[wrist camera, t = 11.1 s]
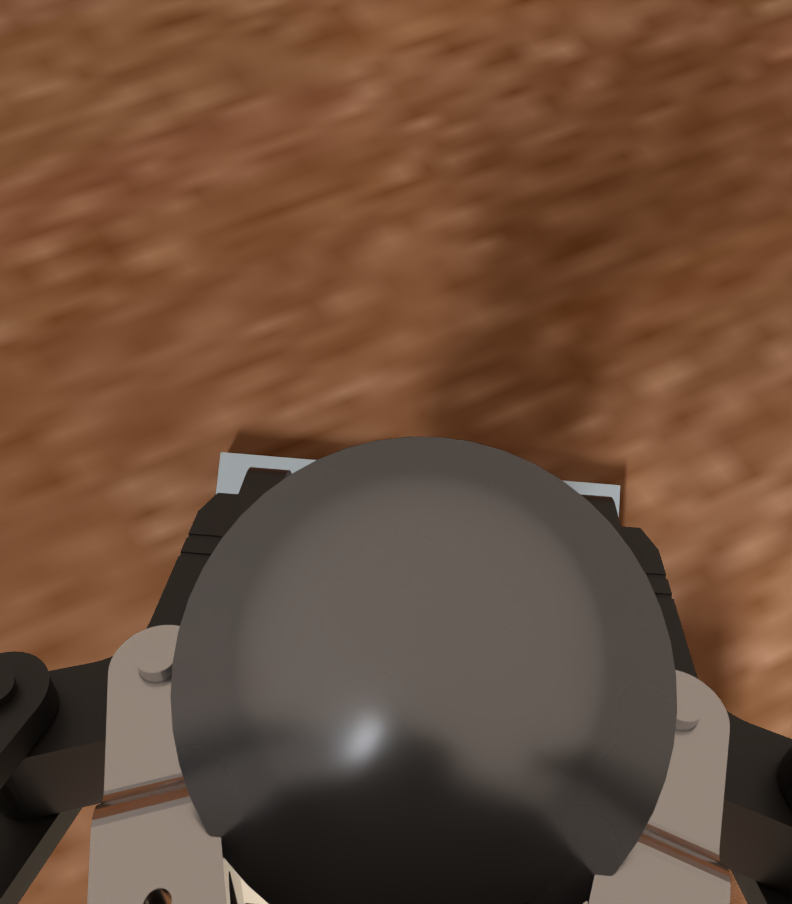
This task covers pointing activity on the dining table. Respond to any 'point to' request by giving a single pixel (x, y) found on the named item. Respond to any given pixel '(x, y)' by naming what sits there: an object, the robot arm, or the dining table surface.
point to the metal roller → (423, 684)
